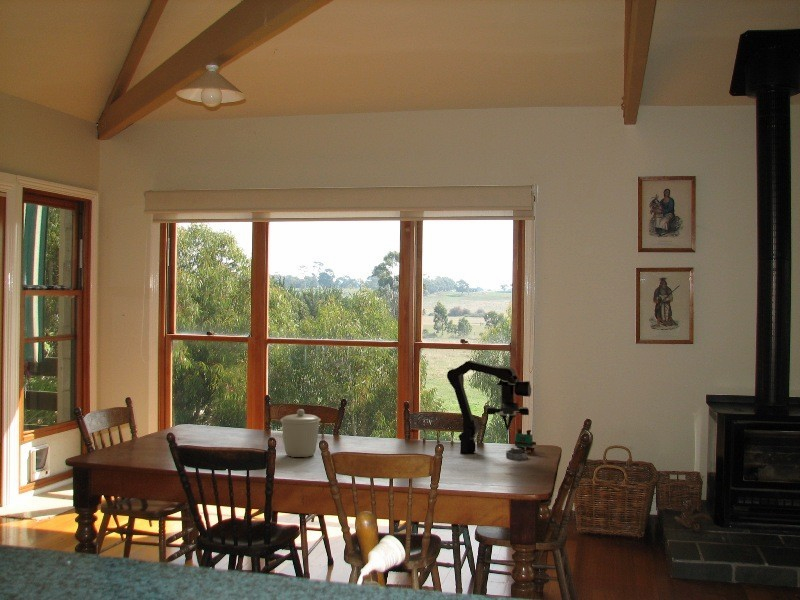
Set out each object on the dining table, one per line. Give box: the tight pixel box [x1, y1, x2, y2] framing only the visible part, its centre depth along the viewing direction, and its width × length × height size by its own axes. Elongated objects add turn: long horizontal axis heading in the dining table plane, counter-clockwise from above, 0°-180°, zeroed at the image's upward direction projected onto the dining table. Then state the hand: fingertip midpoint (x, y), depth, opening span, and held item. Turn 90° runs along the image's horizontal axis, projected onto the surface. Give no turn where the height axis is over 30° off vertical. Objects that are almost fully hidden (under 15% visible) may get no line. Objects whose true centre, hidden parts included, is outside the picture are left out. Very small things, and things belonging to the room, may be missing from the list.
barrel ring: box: [505, 449, 528, 461], centre depth 337 cm, size 9×9×2 cm
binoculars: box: [514, 428, 537, 454], centre depth 351 cm, size 9×11×10 cm
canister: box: [279, 408, 322, 458], centre depth 339 cm, size 18×18×21 cm
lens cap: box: [510, 447, 522, 454], centre depth 337 cm, size 5×5×4 cm
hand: (507, 429), depth 339 cm, fingers closed
